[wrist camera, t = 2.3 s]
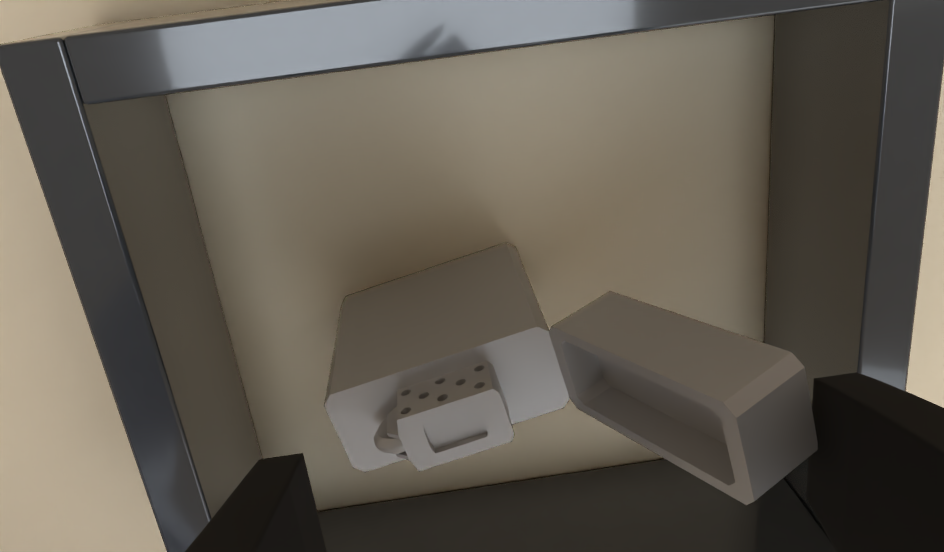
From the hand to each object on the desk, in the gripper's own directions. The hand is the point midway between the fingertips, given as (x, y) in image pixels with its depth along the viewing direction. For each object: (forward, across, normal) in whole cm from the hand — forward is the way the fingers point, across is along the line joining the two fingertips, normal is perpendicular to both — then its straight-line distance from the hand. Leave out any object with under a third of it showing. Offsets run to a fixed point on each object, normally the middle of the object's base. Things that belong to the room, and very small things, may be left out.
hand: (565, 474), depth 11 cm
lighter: (+7, 0, 0) cm, 7 cm away
